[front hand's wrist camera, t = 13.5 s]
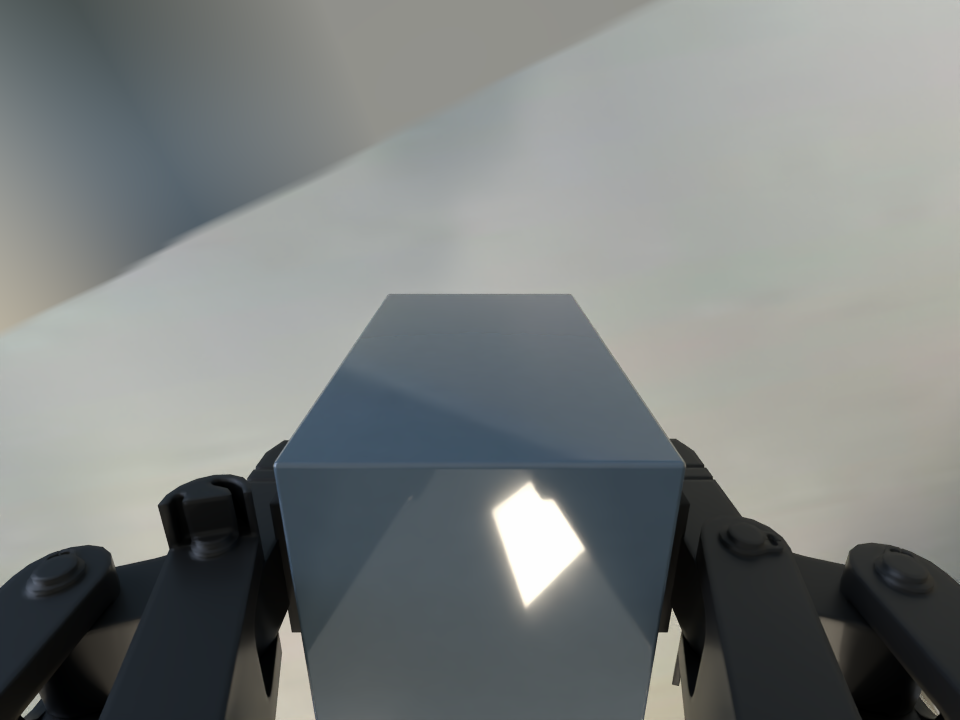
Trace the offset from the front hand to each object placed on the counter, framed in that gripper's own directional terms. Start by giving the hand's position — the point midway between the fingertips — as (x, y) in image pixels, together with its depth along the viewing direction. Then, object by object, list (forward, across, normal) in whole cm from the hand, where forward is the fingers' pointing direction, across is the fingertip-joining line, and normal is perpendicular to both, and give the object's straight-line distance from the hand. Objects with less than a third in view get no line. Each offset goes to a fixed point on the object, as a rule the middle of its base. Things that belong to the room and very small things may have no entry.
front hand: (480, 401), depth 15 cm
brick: (+1, 0, 0) cm, 1 cm away
